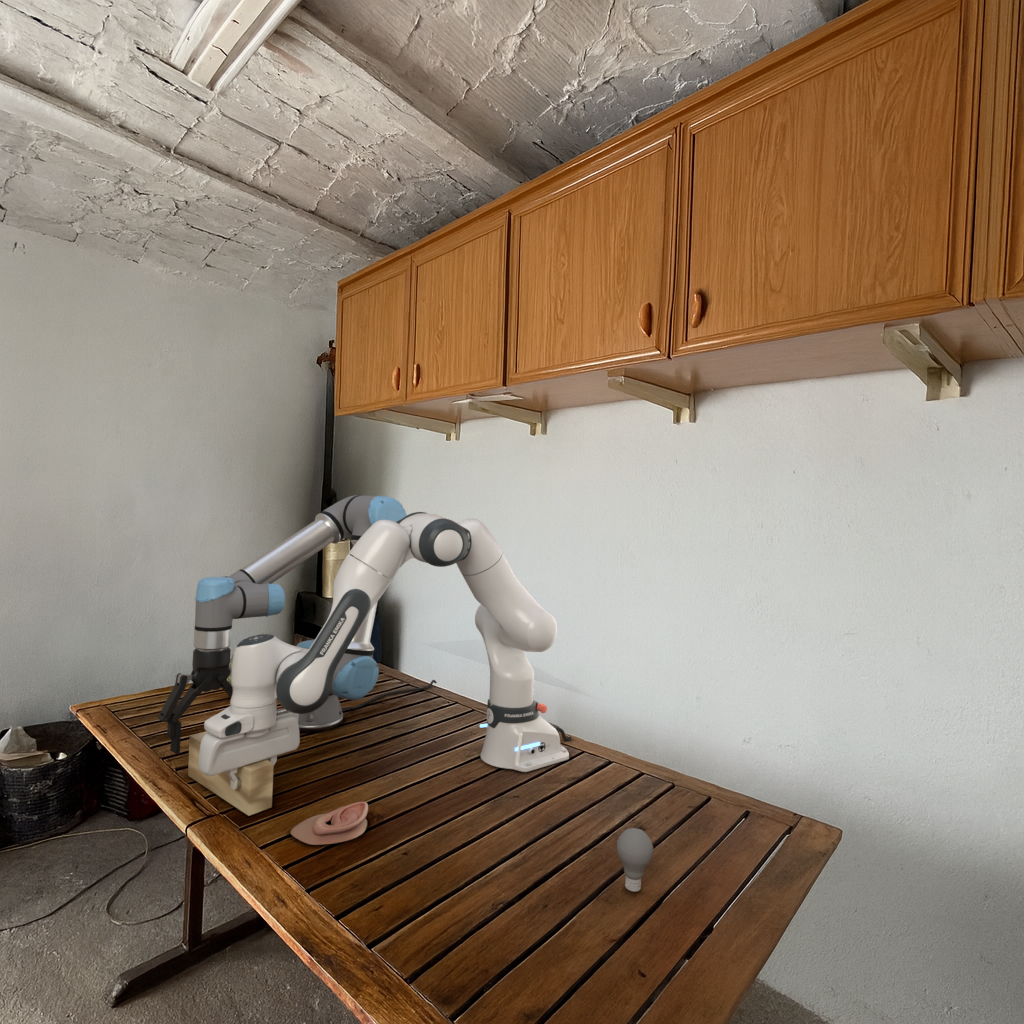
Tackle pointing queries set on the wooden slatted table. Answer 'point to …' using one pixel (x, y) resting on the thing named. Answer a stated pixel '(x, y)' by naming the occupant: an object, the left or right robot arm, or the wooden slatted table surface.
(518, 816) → the wooden slatted table surface
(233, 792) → the birch rail
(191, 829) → the wooden slatted table surface
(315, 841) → the anatomical model
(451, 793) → the wooden slatted table surface
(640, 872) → the light bulb
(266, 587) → the left robot arm
